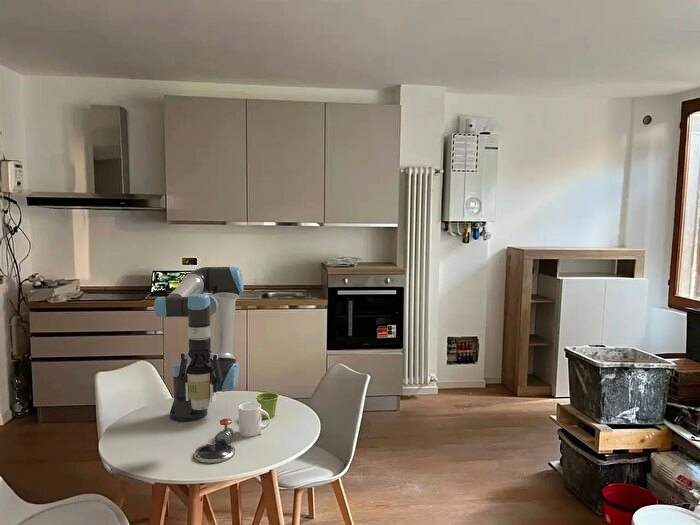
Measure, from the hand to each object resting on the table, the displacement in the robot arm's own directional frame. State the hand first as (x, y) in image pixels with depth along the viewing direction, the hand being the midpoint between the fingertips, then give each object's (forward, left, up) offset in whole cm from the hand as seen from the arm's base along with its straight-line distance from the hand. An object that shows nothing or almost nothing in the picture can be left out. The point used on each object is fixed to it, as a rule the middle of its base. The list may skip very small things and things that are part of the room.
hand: (200, 400), depth 190 cm
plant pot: (-34, +14, -19) cm, 41 cm away
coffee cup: (0, 0, -3) cm, 3 cm away
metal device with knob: (0, +6, -19) cm, 20 cm away
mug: (-17, +14, -19) cm, 29 cm away
